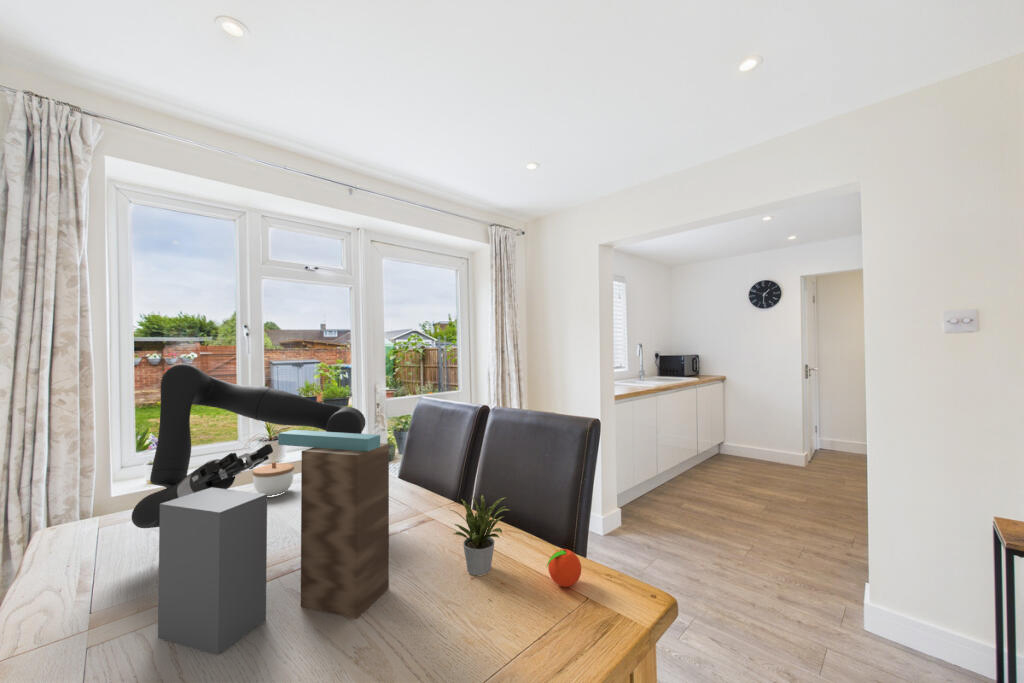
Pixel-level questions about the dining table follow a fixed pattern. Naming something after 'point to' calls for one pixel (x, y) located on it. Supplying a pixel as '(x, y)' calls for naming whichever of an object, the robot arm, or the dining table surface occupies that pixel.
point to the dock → (212, 568)
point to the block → (329, 440)
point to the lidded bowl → (273, 478)
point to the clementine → (564, 567)
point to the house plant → (479, 537)
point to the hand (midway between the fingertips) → (253, 451)
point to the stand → (344, 529)
